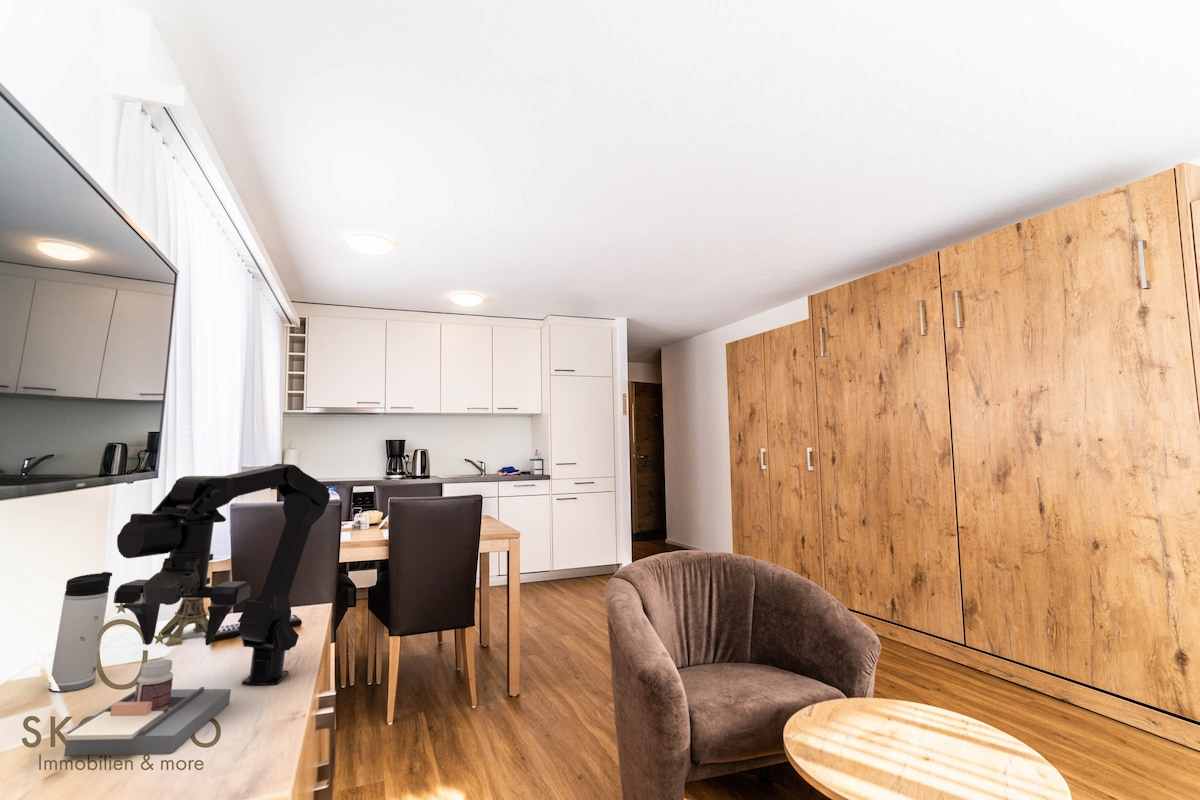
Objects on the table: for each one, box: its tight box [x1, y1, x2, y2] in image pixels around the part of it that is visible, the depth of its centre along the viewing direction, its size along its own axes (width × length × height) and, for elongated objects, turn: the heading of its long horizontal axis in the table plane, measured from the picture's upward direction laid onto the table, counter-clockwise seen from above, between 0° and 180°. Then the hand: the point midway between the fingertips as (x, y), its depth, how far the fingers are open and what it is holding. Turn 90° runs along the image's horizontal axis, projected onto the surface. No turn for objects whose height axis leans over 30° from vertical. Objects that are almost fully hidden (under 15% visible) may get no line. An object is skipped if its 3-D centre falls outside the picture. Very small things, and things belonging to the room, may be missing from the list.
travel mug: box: [51, 571, 113, 693], centre depth 107 cm, size 6×7×20 cm
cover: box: [65, 701, 164, 741], centre depth 86 cm, size 8×8×2 cm
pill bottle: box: [134, 658, 174, 713], centre depth 94 cm, size 5×5×8 cm
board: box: [63, 686, 232, 757], centre depth 92 cm, size 18×14×3 cm
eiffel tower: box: [158, 591, 218, 648], centre depth 139 cm, size 11×11×25 cm
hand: (178, 644), depth 97 cm, fingers open, 9 cm apart
